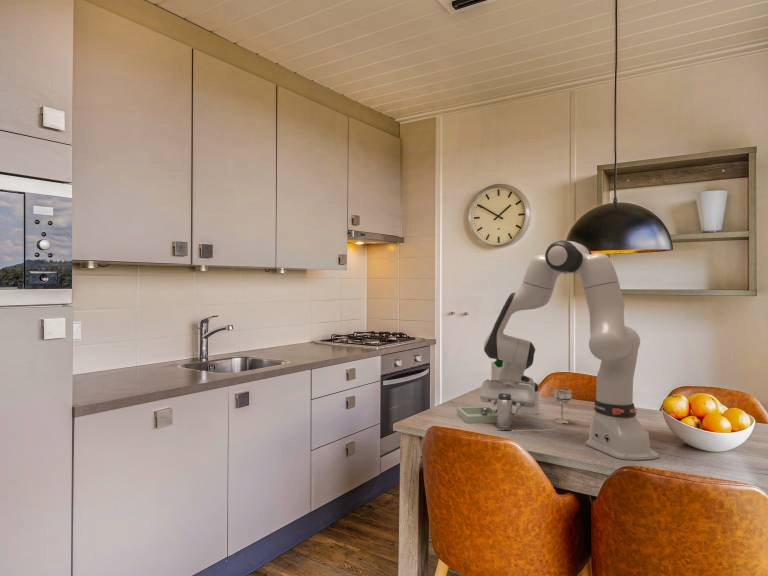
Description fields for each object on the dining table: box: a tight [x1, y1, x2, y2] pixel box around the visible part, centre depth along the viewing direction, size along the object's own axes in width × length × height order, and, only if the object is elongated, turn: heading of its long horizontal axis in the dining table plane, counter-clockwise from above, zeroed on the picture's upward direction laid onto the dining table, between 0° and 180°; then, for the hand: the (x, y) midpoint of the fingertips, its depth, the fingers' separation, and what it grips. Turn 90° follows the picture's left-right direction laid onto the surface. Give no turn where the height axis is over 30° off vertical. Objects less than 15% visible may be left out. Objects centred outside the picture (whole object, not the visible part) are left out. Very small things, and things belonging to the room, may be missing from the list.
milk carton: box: [490, 359, 503, 380], centre depth 232 cm, size 9×9×20 cm
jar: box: [517, 382, 540, 416], centre depth 212 cm, size 9×8×12 cm
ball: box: [481, 406, 489, 415], centre depth 204 cm, size 3×3×3 cm
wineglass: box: [552, 388, 573, 424], centre depth 199 cm, size 7×7×12 cm
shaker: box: [496, 393, 513, 432], centre depth 188 cm, size 5×5×12 cm
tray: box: [456, 406, 497, 424], centre depth 200 cm, size 14×14×3 cm
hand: (504, 413), depth 187 cm, fingers closed on shaker, 5 cm apart
